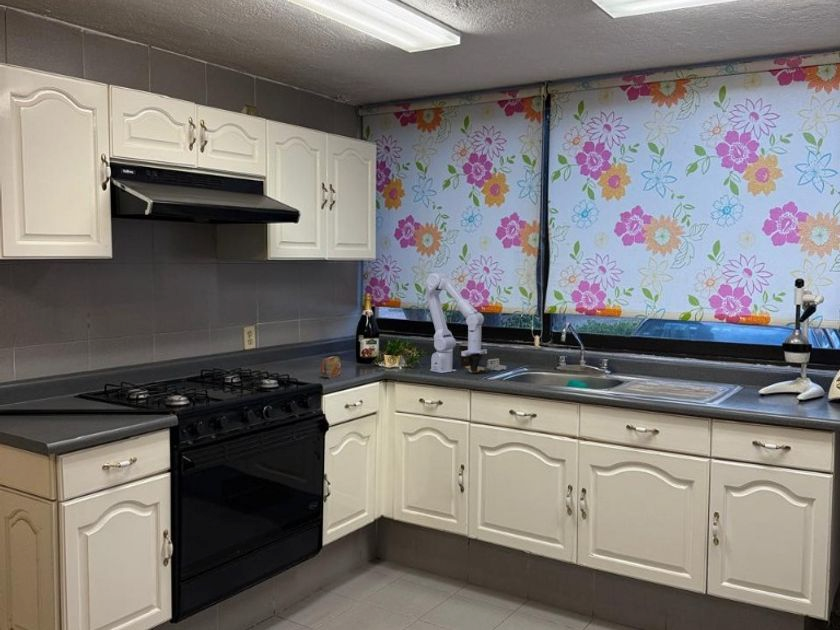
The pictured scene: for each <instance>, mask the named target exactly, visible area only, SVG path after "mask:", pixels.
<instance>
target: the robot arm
mask: <svg viewBox="0 0 840 630" xmlns="http://www.w3.org/2000/svg"><path fill="white" fill-rule="evenodd" d="M425 282H426V288H425V296H426V301H427V303H428V304H427V305H428V307H429V312H430V315H431V318H432V322H433V325H434V330H435V333H434V335H433V341H434V342H433V346H434V349H435V350H436V352H433V353H432V355H431V359H430V360H431V362H430V363H431V365H430V367H431V368H430V369H429V371H430V372H435V373H440V374H445V373H451V372H452V371H453V372H457V371H458V370H457V369H453V359H454V356H453V355H454V352H453V351H454V348H455V347H456V345H457V341H456V338H454V336H453V334H452V331H451V330H449V329H448V325H447V322H446V317H445V314H444V311H443V307H442V302H441V300H440V296H439V295H440V294H441V292H442V290H443V291H446V292H447V293H448V295H450V297H451V299H453V300H454V302H456V306H457V307H456V308H457V309H458V310H459V312H460V313H461V314H462V315H463V317H464V319H465V323H466V325H467V326H468V327H467V330H468V331H467V344H468V350H466V351H461V356H466V357H467V359H468V361H469V364H470V367H471V371H474V372H473V373H476V372H475V371H477V368H478V366H479V364H480V361H481V360H482V358H483V356H482V354H485V355H486V354H488V349H487V348H483V349H481V348H482V325H483V324H484V321H485V317H484V315H483V313H481V312H480V311H479V312H478V310H477V309H476V308H475V307H474V305H472V302H471V300H468V299H467V298H464V297H463V296H462V294H461V293H460V291H459V290H458V289H457V287H456V286H455V285H454V283H453V280H452V278H450V277H449V275H448V274H447V273H444V272H442V273H435V272H433V273H430V274H429V275H428V277H427V279H426V281H425Z"/></svg>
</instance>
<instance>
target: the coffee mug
mask: <svg viewBox="0 0 840 630" xmlns="http://www.w3.org/2000/svg"><path fill="white" fill-rule="evenodd" d="M458 349H459V358H460V366H461V367H463V366H470V364H469V361H468V359H467V357H466V356H461V351H466V350H468V343H460V344H459V345H458ZM481 349H484V347H481ZM481 355H482V357H483V356H484V354H481Z"/></svg>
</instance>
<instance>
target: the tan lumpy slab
mask: <svg viewBox="0 0 840 630" xmlns="http://www.w3.org/2000/svg"><path fill="white" fill-rule="evenodd" d="M342 366H343V365H342V360H341V358H340V357H339V355H336V356H330V357H327V358H324V359H323V360H322V362H321V375H322V377H323V378H324V379H333V378H336V377H338V376H340V374H341V372H342Z"/></svg>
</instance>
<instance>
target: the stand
mask: <svg viewBox="0 0 840 630" xmlns="http://www.w3.org/2000/svg"><path fill="white" fill-rule="evenodd" d="M486 367H488V369H491V370H490V371H493V370H497V371H501V369H504V370H507V365H502V364H500V358H490V359H487V365H486Z"/></svg>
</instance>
